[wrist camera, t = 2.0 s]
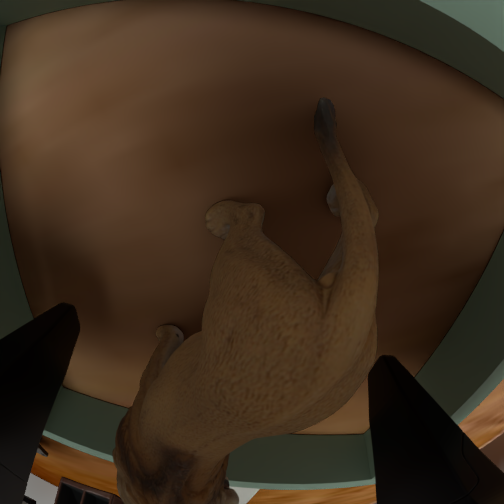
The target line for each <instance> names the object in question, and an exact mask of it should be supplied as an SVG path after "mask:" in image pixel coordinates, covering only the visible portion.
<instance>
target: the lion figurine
mask: <svg viewBox="0 0 504 504" xmlns="http://www.w3.org/2000/svg"><path fill="white" fill-rule="evenodd" d="M336 126H337V124H336V120H335V109H334V105H333V103H332V102H331V100H329V99H327V98H324V97H323V98H320V100H319V103H318V107H317V111H316V113H315V116H314V131H315V135H316V138H317V141H318V143H319V145H320V150H321V153H322V155H323V157H324V159H325V161H326V163H327V166H328V169H329V172H330V174H331V177H332V179H333V183H334V184H333V185H332V186H331V188H330V190H329V192H328V194H327V203H328V205H329V207H330V210H331V213H332V214H333V215H334V216H341V225H342V234H341V237H340V239H339V241H338V244H337V246H336V248H335V250H334V252H333V254H332V256H331V257H330V259H329V261H328V263H327V265H326V267H325V268H324V270H323V271H322V273H321V275H320V277H319V278H318V280H315V279H313V278H312V277H310V276H309V275H308V274H307V273H306V272H305V270H304V269H303V268H302V267H301V266H300V265H299V264H298V263H297V262H296V261H295V260H294V259H293V258H292V257H290V256H289V255H288V254H287V253H285V252H284V251H283V250H282V249H281V248H280V247H279V246H278V245H276V244H275V243H274V242H273V241H271V240H270V239H269V238H268V237H266V236H265V235H264V234H263V231H262V224H263V220H264V216H265V211H264V209H263V207H262V206H260V205H259V204H256V203H239V202H236V201H231V200H227V201H221V202H219V203H217V204H215V205H213V206H212V207H211V208H210V209H209V210H208V211H207V212H206V215H205V221H206V228H207V229H208V230H209V231H210V232H211V233H212V234H213V235H215V236H217V237H220V238H222V239H225V241H224V243H223V245H222V247H221V249H220V251H219V253H218V255H217V257H216V260H215V263H214V265H213V268H212V272H211V276H210V291H209V296H208V299H207V301H206V304H205V308H204V312H203V317H202V331H200V332H198V333H195V334H193V335H192V336H190V337H189V338H188V339H186V340H185V341H183V340H184V335H183V333H182V332H181V330H179V329H178V328H177V327H176V326H173V325H162V326H160V327H158V329H157V331H156V337H157V338H158V340H159V341H160V343H159V345H158V347H157V348H156V350H155V351H154V353H153V355H152V356H151V359H150V361H149V363H148V365H147V367H146V369H145V370H144V372H143V374H142V377H141V380H140V388H139V391H138V393H137V396H136V398H135V400H134V403H133V405H132V406H131V407H130V408H129V409H128V411H127V413H126V415H125V416H124V417H123V418H122V419H121V421H120V423H119V426H118V429H117V431H116V437H115V448H114V449H113V452H112V456H113V461H114V464H115V466H116V468H117V488H118V492H119V495H120V497H121V499H122V501H123V502H124V504H239V496H238V494H237V493H236V491H235V490H234V489H231V488H229V480H228V477H227V476H226V470H227V467H228V460H229V455H230V452H232V451H233V450H235V449H236V448H238V447H240V446H242V445H243V444H245V443H247V442H249V441H251V440H253V439H255V438H262V437H269V436H276V435H283V434H289V433H294V432H297V431H300V430H303V429H306V428H308V427H310V426H312V425H315V424H317V423H318V422H320V421H322V420H324V419H325V418H327V417H329V416H330V415H332V414H334V413H335V412H336V411H337V410H339V409H340V408H341V407H342V406H343V405H344V404H345V403H346V402H347V401H348V400H349V399H350V398H351V397H352V395H353V394H354V393H355V391H356V390H357V389H358V387H359V386H360V385H361V383H362V382H363V381H364V379H365V377H366V376H367V374H368V372H369V370H370V369H371V367H372V365H373V363H374V361H375V357H376V351H377V331H378V330H377V323H376V317H375V309H376V302H377V292H378V280H379V263H378V248H377V242H376V236H375V230H374V228H375V226H376V223H377V221H378V216H379V214H378V210H377V207H376V205H375V203H374V201H373V199H372V197H371V195H370V193H369V191H368V189H367V188H366V186H365V185H364V184H363V183H362V182H361V181H360V180H358V179H356V177H355V176H354V174H353V172H352V171H351V169H350V167H349V165H348V163H347V161H346V159H345V156H344V154H343V152H342V149H341V147H340V144H339V142H338V140H337V136H336Z"/></svg>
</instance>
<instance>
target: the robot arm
mask: <svg viewBox="0 0 504 504" xmlns="http://www.w3.org/2000/svg"><path fill="white" fill-rule="evenodd" d="M79 332H80V323H79V320H78V316H77V312H76V308H75V306H74V305H71V304H68V303H64V302H62V303H60V304H58V305H56V306H55V307H53V308H51V309H49V310H48V311H46V312H44V313H43V314H41V315H39V316H38V317H36V318H34V319H33V320H31V321H29V322H28V323H26V324H24V325H23V326H21V327H19V328H18V329H16V330H14V331H13V332H11V333H10V334H8V335H6V336H5V337H3V338H2V339H0V504H36V501H35V500H33V499H31V498H29V497H27V496H25V495H24V494H25V490H26V486H27V482H28V478H29V475H30V472H31V468H32V465H33V462H34V458H35V455H36V452H37V453H39V454H41V455H43V456H46V457H47V456H48V453H47V452H46V451H45V450H44V449H43V448H42V446H41V445H40V444H39V443H40V440H41V437H42V434H43V431H44V428H45V426H46V423H47V420H48V418H49V415H50V412H51V410H52V407H53V404H54V402H55V399H56V397H57V394H58V392H59V390H60V387H61V385H62V382H63V380H64V377H65V375H66V372H67V369H68V366H69V363H70V359H71V356H72V353H73V350H74V347H75V344H76V341H77V338H78V335H79ZM368 395H369V423H370V432H371V441H372V450H373V460H374V471H375V483H376V498H377V504H504V473H503V472H502V471H501V470H500V469H499V468H498V467H497V466H496V465H495V464H494V463H493V462H492V461H491V460H490V459H489V458H488V457H487V456H486V455H484V453H483V452H482V451H481V450H480V449H479V448H478V447H477V446H476V445H475V444H474V443H473V442H472V441H471V440H470V439H469V437H468V436H467V435H466V434H465V433H464V432H463V431H462V430H461V429H460V427H459V426H458V425H457V424H456V423H455V422H454V421H453V420H452V418H451V417H450V416H449V415H448V414H447V413H446V412H445V411H444V410H443V408H442V407H441V406H440V405H439V404H438V403H437V402H436V401H435V400H434V399H433V397H432V396H431V395H430V394H429V393H428V392H427V391H426V390H425V389H424V388H423V387H422V386H421V384H420V383H419V382H418V381H417V380H416V379H415V378H414V377H413V376H412V375H411V374H410V373H409V372H408V370H407V369H406V368H405V367H404V366H403V365H402V364H401V363H400V362H399V361H398V360H397V359H396V358H395V357H394V356H391V355H382V356H380V357H379V358H378V360H377V361H376V363H375V364H374V366H373V367H372V369H371V370H370V372H369V375H368Z"/></svg>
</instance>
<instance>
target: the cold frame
mask: <svg viewBox="0 0 504 504" xmlns="http://www.w3.org/2000/svg"><path fill="white" fill-rule="evenodd" d="M109 1H118V0H0V67H1V58H2V50H3V43H4V37H5V31H6V26H7V25H10V24H12V23H15V22H19V21H22V20H25V19H28V18H32V17H35V16H39V15H42V14H46V13H50V12H54V11H59V10H63V9H68V8H72V7H78V6H83V5H89V4H95V3H102V2H109ZM239 1H247V2H255V3H262V4H268V5H274V6H280V7H285V8H291V9H295V10H300V11H305V12H309V13H313V14H317V15H321V16H325V17H329V18H332V19H336V20H339V21H343V22H346V23H349V24H353V25H356V26H359V27H362V28H365V29H368V30H370V31H373V32H376V33H379V34H381V35H384V36H387V37H389V38H392V39H394V40H397V41H399V42H402V43H404V44H406V45H409V46H411V47H413V48H415V49H418V50H420V51H422V52H424V53H426V54H428V55H430V56H432V57H434V58H436V59H438V60H440V61H442V62H444V63H446V64H448V65H450V66H452V67H453V68H455V69H457V70H459V71H461V72H462V73H464V74H466V75H468V76H469V77H471V78H473V79H474V80H476V81H478V82H479V83H481V84H482V85H484V86H486V87H487V88H489V89H490V90H492V91H493V92H495V93H496V94H498V95H499V96H501V97H502V98H503V99H504V0H239ZM31 320H33V316H32V313H31V310H30V307H29V304H28V301H27V298H26V295H25V292H24V289H23V285H22V282H21V278H20V275H19V271H18V268H17V264H16V260H15V256H14V252H13V247H12V243H11V238H10V233H9V228H8V223H7V217H6V212H5V205H4V199H3V191H2V183H1V174H0V339H2V338H3V337H5V336H6V335H8V334H10V333H11V332H13V331H14V330H16V329H18V328H19V327H21V326H23V325H24V324H26V323H28V322H29V321H31ZM415 379H416V380H417V381H418V382H419V383H420V384H421V386H422V387H423V388H424V389H425V390H426V391H427V392H428V393H429V394H430V395H431V396H432V397H433V399H434V400H435V401H436V402H437V403H438V404H439V405H440V406H441V407H442V408H443V410H444V411H445V412H446V413H447V414H448V415H449V416H450V417H451V418H452V420H453V421H454V422H455V423H456V424H457V425H458V424H459V423H460V422H461V421H462V420H464V419H465V418H466V417H467V416H468V415H469V414H470V413H471V412H472V411H473V410H474V409H475V408H476V407H477V406H478V405H479V404H480V403H481V402H482V401H483V400H484V399H485V398H486V397H487V396H488V395H489V394H490V393H491V392H492V391H493V390H494V389H495V388H496V386H497V385H498V384H499V383H500V382H501V381H502V380H503V379H504V232H503V234H502V236H501V238H500V240H499V243H498V245H497V247H496V249H495V251H494V253H493V255H492V257H491V259H490V261H489V263H488V265H487V267H486V269H485V271H484V273H483V275H482V277H481V279H480V280H479V282H478V284H477V286H476V288H475V289H474V291H473V293H472V295H471V296H470V298H469V300H468V301H467V303H466V305H465V306H464V308H463V310H462V311H461V313H460V315H459V316H458V318H457V319H456V321H455V322H454V324H453V325H452V327H451V328H450V330H449V331H448V333H447V334H446V336H445V337H444V339H443V340H442V342H441V343H440V345H439V346H438V347H437V349H436V350H435V352H434V353H433V354H432V356H431V357H430V358H429V360H428V361H427V362H426V364H425V365H424V366H423V368H422V369H421V370H420V371H419V373H418V374H417V375H416V377H415ZM127 411H128V408H124V407H121V406H117V405H114V404H110V403H107V402H104V401H101V400H98V399H94V398H91V397H88V396H85V395H83V394H80V393H77V392H74V391H71V390H69V389H66V388H63V386H62V385H61V387H60V390H59V392H58V394H57V397H56V399H55V402H54V404H53V407H52V410H51V412H50V415H49V418H48V420H47V423H46V426H45V428H44V431H43V434H42V435H44V436H46V437H49V438H51V439H53V440H55V441H58V442H60V443H62V444H65V445H67V446H70V447H72V448H75V449H77V450H80V451H82V452H85V453H88V454H90V455H93V456H96V457H99V458H102V459H105V460H108V461H111V462H114V461H113V456H112V452H113V449H114V448H115V437H116V431H117V429H118V426H119V423H120V421H121V419H122V418H123V417H124V416H125V415H126V413H127ZM226 476H227V477H228V480H229V486H231V487H242V488H255V489H278V490H309V489H331V488H344V487H355V486H364V485H371V484H376V483H375V471H374V460H373V450H372V441H371V432H370V428H369V429H368V430H367V431H366V432H365V433H364V434H360V435H293V434H283V435H276V436H269V437H262V438H255V439H253V440H251V441H249V442H247V443H245V444H243V445H242V446H240V447H238V448H236V449H235V450H233V451H232V452H230V455H229V460H228V467H227V470H226Z"/></svg>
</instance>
